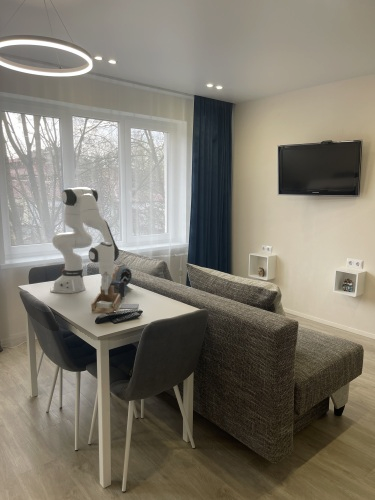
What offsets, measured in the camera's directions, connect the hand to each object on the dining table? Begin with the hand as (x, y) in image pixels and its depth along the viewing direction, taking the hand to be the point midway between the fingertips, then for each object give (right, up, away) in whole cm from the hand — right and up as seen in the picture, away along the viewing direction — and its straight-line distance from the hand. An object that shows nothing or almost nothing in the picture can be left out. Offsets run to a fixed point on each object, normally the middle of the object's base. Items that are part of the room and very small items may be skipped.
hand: (107, 293), depth 214 cm
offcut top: (+1, -7, -9) cm, 11 cm away
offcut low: (+1, -9, -8) cm, 12 cm away
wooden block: (0, -5, +1) cm, 5 cm away
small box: (+1, -5, +18) cm, 18 cm away
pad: (+13, -8, -1) cm, 15 cm away
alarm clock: (+3, -2, +35) cm, 35 cm away
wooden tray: (0, -8, -2) cm, 8 cm away
